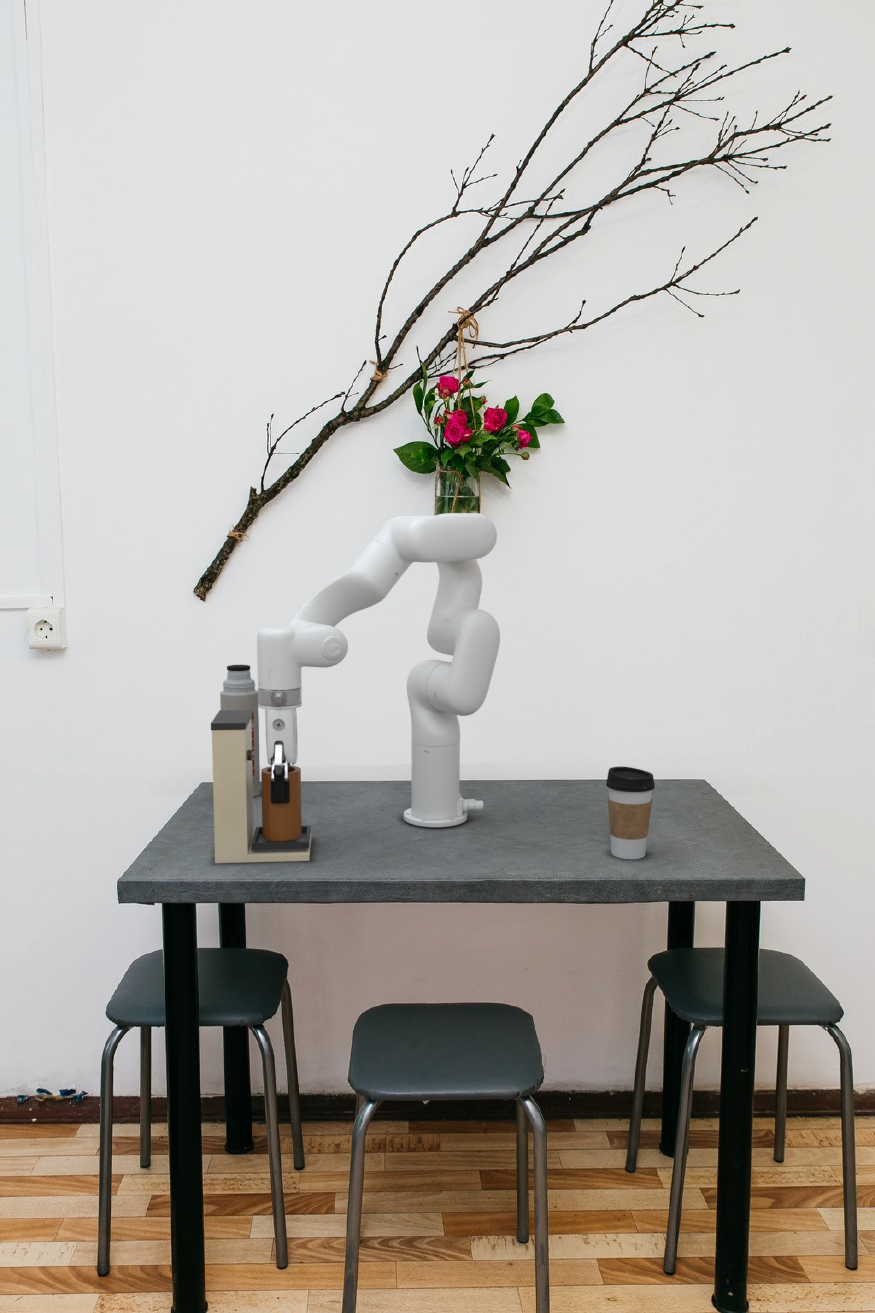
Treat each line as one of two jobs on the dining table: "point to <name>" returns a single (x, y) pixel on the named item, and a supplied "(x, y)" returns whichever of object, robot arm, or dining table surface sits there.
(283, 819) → the brown hollow cylinder
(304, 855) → the coffee maker
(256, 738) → the thermos bottle
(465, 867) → the dining table surface
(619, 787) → the coffee cup
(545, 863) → the dining table surface
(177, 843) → the dining table surface
